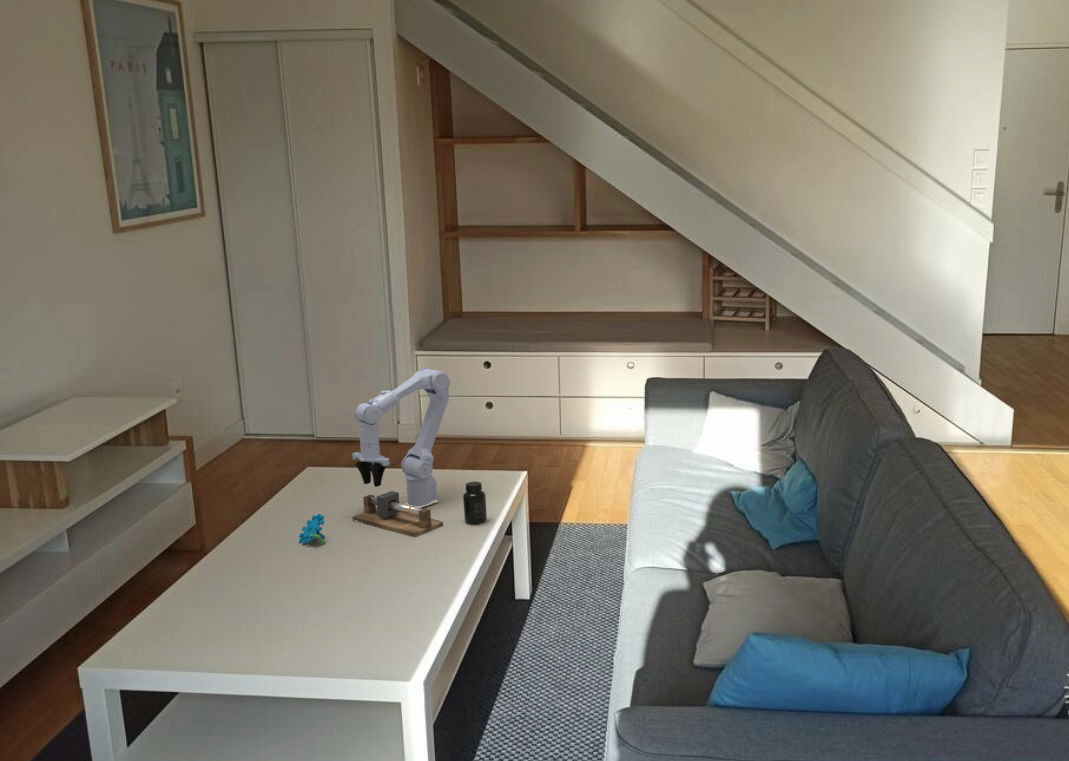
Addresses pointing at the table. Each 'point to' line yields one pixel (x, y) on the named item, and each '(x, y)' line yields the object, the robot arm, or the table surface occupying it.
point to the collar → (383, 504)
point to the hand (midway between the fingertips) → (372, 484)
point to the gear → (312, 530)
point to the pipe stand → (398, 518)
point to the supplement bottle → (474, 504)
